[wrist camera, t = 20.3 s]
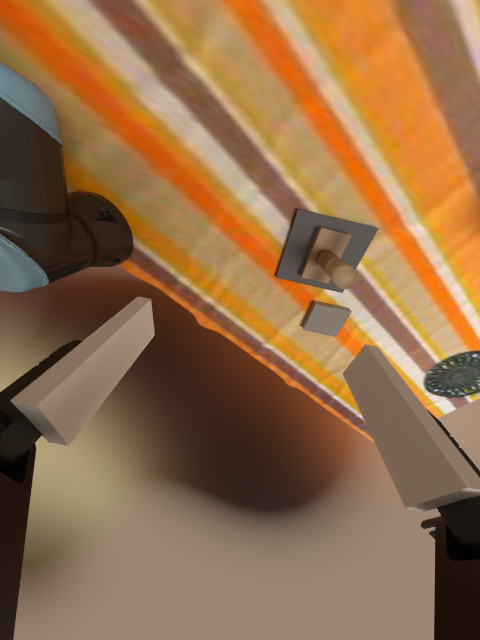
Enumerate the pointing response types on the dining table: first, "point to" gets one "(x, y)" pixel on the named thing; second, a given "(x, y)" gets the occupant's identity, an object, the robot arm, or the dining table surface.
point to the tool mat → (303, 239)
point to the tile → (326, 318)
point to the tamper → (329, 259)
